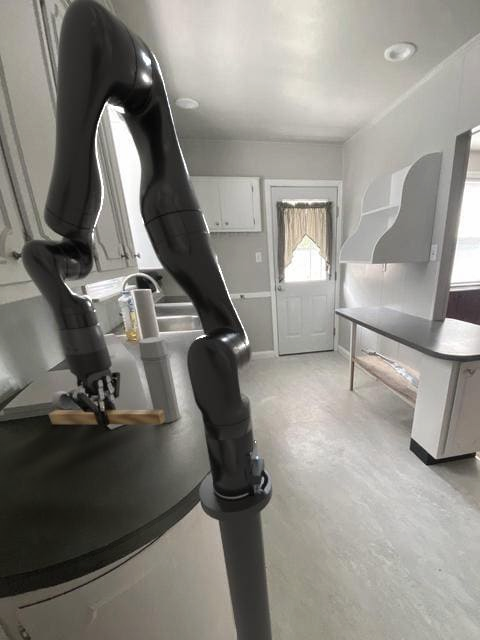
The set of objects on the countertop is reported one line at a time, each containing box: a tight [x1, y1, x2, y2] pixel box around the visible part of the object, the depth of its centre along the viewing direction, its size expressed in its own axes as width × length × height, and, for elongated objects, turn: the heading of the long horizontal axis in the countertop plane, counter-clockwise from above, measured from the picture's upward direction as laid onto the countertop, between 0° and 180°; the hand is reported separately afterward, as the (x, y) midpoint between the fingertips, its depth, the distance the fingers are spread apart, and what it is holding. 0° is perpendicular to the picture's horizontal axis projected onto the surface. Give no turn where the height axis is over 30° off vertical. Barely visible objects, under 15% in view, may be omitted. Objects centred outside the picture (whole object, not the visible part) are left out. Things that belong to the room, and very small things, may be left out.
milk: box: [95, 333, 151, 430], centre depth 91 cm, size 12×12×26 cm
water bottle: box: [138, 336, 181, 424], centre depth 88 cm, size 9×8×25 cm
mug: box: [51, 388, 82, 410], centre depth 96 cm, size 10×12×10 cm
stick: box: [48, 409, 165, 426], centre depth 68 cm, size 26×2×3 cm, turn 85°
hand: (108, 421), depth 69 cm, fingers closed on stick, 2 cm apart
